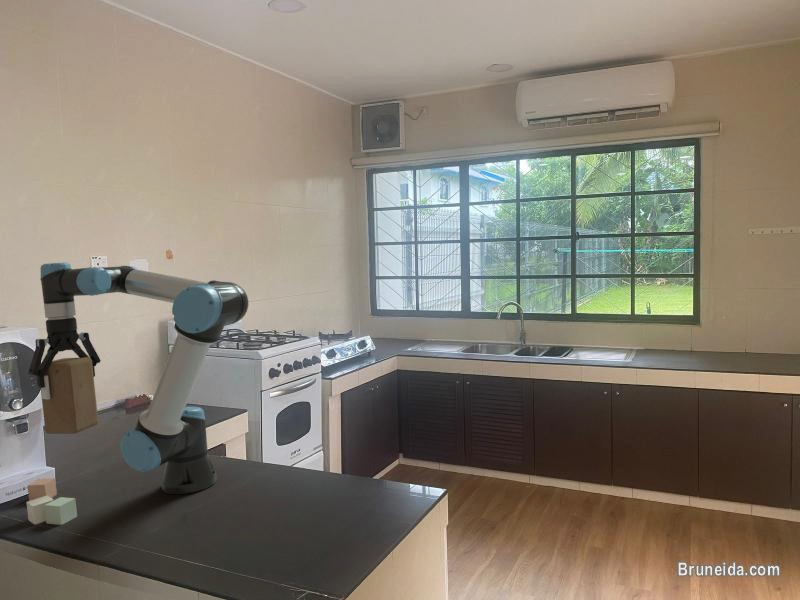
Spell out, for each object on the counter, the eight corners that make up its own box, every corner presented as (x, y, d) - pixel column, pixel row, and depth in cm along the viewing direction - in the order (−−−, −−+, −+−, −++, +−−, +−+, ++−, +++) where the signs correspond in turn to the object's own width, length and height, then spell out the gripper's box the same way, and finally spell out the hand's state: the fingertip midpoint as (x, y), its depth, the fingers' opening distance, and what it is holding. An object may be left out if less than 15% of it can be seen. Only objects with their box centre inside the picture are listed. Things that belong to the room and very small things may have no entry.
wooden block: (75, 434, 165) (67, 363, 164) (44, 435, 167) (36, 364, 166) (100, 424, 175) (93, 356, 173) (70, 424, 177) (63, 357, 175)
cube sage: (77, 516, 159) (75, 498, 159) (61, 525, 154) (59, 506, 154) (62, 515, 160) (60, 497, 160) (46, 523, 156) (44, 505, 155)
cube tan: (57, 494, 176) (55, 478, 176) (46, 501, 171) (44, 484, 171) (40, 495, 176) (38, 478, 176) (29, 502, 171) (27, 485, 171)
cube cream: (55, 517, 159) (53, 499, 159) (34, 525, 155) (32, 506, 155) (49, 513, 162) (47, 495, 162) (28, 520, 159) (26, 501, 158)
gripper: (94, 313, 181) (101, 383, 182) (7, 323, 160) (16, 402, 162) (108, 312, 177) (116, 385, 178) (22, 323, 156) (31, 405, 158)
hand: (68, 393), depth 170 cm, fingers closed on wooden block, 12 cm apart
